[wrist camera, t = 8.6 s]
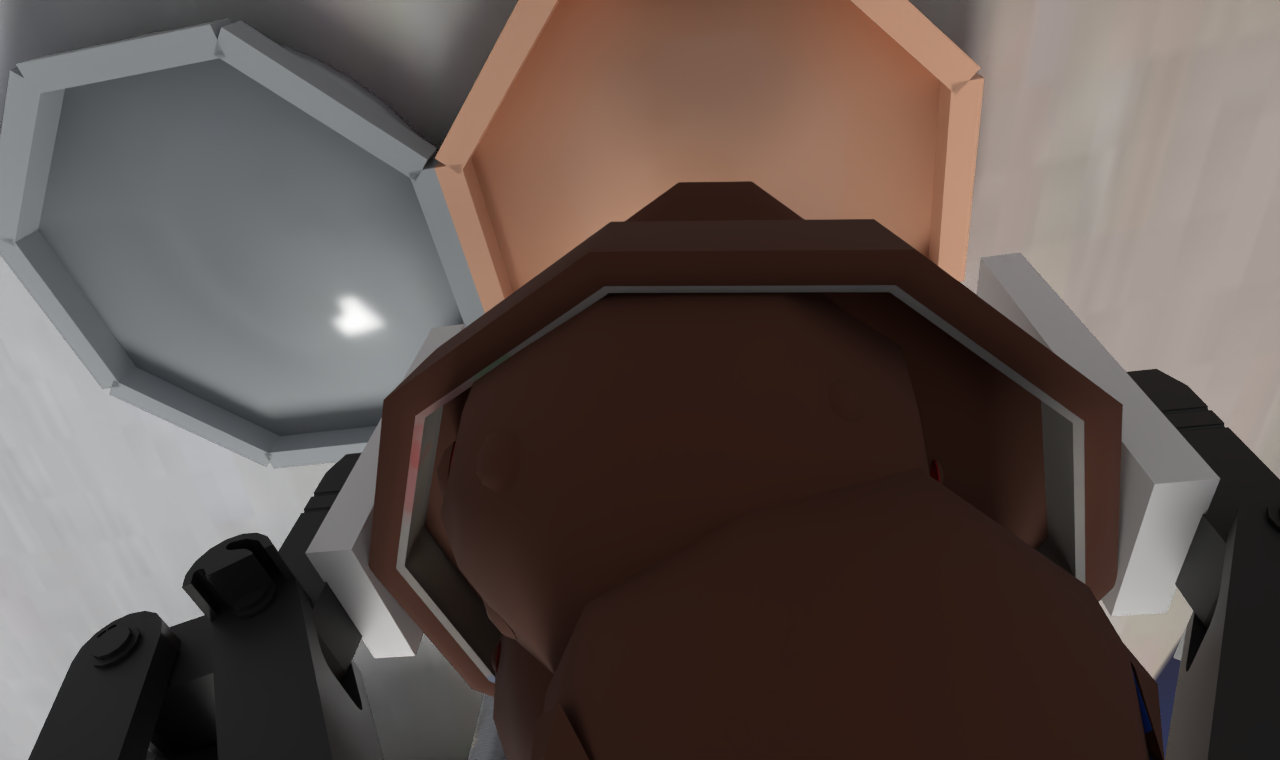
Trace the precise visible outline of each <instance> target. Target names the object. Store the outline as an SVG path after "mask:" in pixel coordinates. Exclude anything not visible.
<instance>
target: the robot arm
mask: <svg viewBox="0 0 1280 760" xmlns="http://www.w3.org/2000/svg"><path fill="white" fill-rule="evenodd" d="M977 296H979V297H980V298H981V299H983V300H984V301H985V302H987V303H988V304H989V305H991V306H992V307H993V308H995V309H996V310H997V311H999V312H1000V313H1001V314H1003V315H1004V316H1005V317H1007V318H1008V319H1009V320H1011V321H1012V322H1013V323H1015V324H1016V325H1017V326H1019V327H1020V328H1021V329H1023V330H1024V331H1025V332H1027V333H1028V334H1029V335H1031V336H1032V337H1033V338H1035V339H1036V340H1037V341H1039V342H1040V343H1041V344H1043V345H1044V346H1045V347H1047V348H1048V349H1049V350H1051V351H1052V352H1053V353H1055V354H1056V355H1057V356H1059V357H1060V358H1061V359H1063V360H1064V361H1065V362H1067V363H1068V364H1069V365H1071V366H1072V367H1073V368H1075V369H1076V370H1077V371H1079V372H1080V373H1081V374H1083V375H1084V376H1085V377H1087V378H1088V379H1089V380H1091V381H1092V382H1093V383H1095V384H1096V385H1097V386H1099V387H1100V388H1101V389H1103V390H1104V391H1105V392H1107V393H1108V394H1109V395H1111V396H1112V397H1113V398H1115V399H1116V400H1117V401H1119V402H1120V403H1121V404H1123V412H1122V444H1121V475H1120V507H1119V539H1118V571H1117V578H1116V582H1115V586H1114V587H1113V589H1112V590H1111V591H1109V592H1108V593H1107V594H1106V595H1105V596H1104V597H1103V598H1102V601H1103V603H1104V605H1105V606H1106V608H1107V610H1108V612H1109V613H1110V615H1111V616H1124V615H1142V614H1160V613H1167V611H1168V608H1169V606H1170V603H1171V601H1172V598H1173V596H1174V593H1175V591H1176V588H1177V587H1178V589H1179V590H1180V592H1181V593H1182V595H1183V596H1184V598H1185V599H1186V600H1187V602H1188V603H1189V605H1190V606H1191V608H1192V609H1193V613H1192V616H1191V618H1190V620H1189V622H1188V625H1187V627H1186V629H1185V632H1184V634H1183V636H1182V639H1181V641H1180V643H1179V646H1178V648H1177V650H1176V652H1175V655H1174V658H1175V659H1178V660H1181V665H1180V670H1179V676H1178V683H1177V688H1176V694H1175V700H1174V707H1173V712H1172V719H1171V725H1170V731H1169V737H1168V743H1167V749H1166V755H1165V760H1280V479H1279V478H1278V477H1277V476H1276V475H1275V474H1274V473H1273V472H1272V471H1271V470H1270V469H1269V468H1268V467H1267V466H1266V465H1265V464H1264V463H1263V462H1262V461H1261V460H1260V459H1259V458H1258V457H1257V456H1256V455H1255V454H1254V453H1253V452H1252V451H1251V450H1250V449H1249V448H1248V447H1247V446H1246V445H1245V444H1244V443H1243V442H1242V441H1241V440H1240V439H1239V438H1238V437H1237V436H1236V435H1235V434H1234V433H1233V432H1232V431H1231V430H1230V428H1229V427H1228V428H1225V427H1224V422H1223V421H1222V420H1221V419H1220V418H1219V417H1218V416H1217V415H1216V414H1215V413H1214V412H1213V411H1212V410H1209V411H1208V408H1207V407H1208V406H1207V405H1206V404H1205V403H1204V402H1203V401H1202V400H1201V399H1200V398H1199V397H1198V396H1197V395H1196V394H1195V393H1194V392H1193V391H1192V390H1191V389H1190V388H1189V387H1188V386H1187V385H1185V384H1184V383H1182V382H1180V381H1178V380H1176V379H1174V378H1172V377H1170V376H1169V375H1167V374H1165V373H1163V372H1161V371H1159V370H1157V369H1151V370H1142V371H1132V372H1126V371H1125V370H1124V369H1123V368H1122V367H1121V366H1120V365H1119V364H1118V362H1117V361H1116V360H1115V359H1114V358H1113V357H1112V356H1111V354H1110V353H1109V352H1108V351H1107V350H1106V349H1105V348H1104V347H1103V345H1102V344H1101V343H1100V342H1099V341H1098V340H1097V339H1096V337H1095V336H1094V335H1093V334H1092V333H1091V332H1090V331H1089V330H1088V328H1087V327H1086V326H1085V325H1084V324H1083V323H1082V322H1081V321H1080V319H1079V318H1078V317H1077V316H1076V315H1075V314H1074V313H1073V311H1072V310H1071V309H1070V308H1069V307H1068V306H1067V305H1066V304H1065V302H1064V301H1063V300H1062V299H1061V298H1060V297H1059V296H1058V294H1057V293H1056V292H1055V291H1054V290H1053V289H1052V288H1051V287H1050V285H1049V284H1048V283H1047V282H1046V281H1045V280H1044V279H1043V278H1042V276H1041V275H1040V274H1039V273H1038V272H1037V271H1036V270H1035V268H1034V267H1033V266H1032V265H1031V264H1030V263H1029V262H1028V261H1027V259H1026V258H1025V257H1024V256H1023V255H1022V254H1021V253H1013V254H1005V255H998V256H990V257H982V258H981V261H980V270H979V279H978V288H977ZM464 328H465V326H464V324H460V325H452V326H444V327H436V328H432V329H431V331H430V333H429V335H428V336H427V338H426V340H425V342H424V343H423V345H422V347H421V349H420V351H419V352H418V354H417V356H416V358H415V359H414V361H413V363H412V365H411V367H410V368H409V370H408V372H407V374H406V375H405V377H404V379H403V380H405V379H406V378H407V377H408V376H409V375H410V374H411V373H412V372H413V371H414V370H415V369H416V368H417V367H418V366H419V365H420V364H421V363H422V362H423V361H424V360H425V359H426V358H427V357H428V356H429V355H430V354H432V353H433V352H434V351H435V350H436V349H437V348H438V347H440V346H441V345H442V344H444V343H445V342H446V341H448V340H449V339H451V338H452V337H453V336H455V335H456V334H457V333H459V332H460V331H461V330H463V329H464ZM381 422H382V418H381V420H380V421H379V423H378V425H377V427H376V429H375V430H374V432H373V434H372V436H371V437H370V439H369V441H368V443H367V445H366V446H365V448H364V450H363V452H362V453H352V454H346V455H345V456H344V457H343V458H342V459H340V460H339V461H338V462H337V463H336V464H335V465H334V466H333V467H332V468H331V469H330V470H329V471H327V472H326V474H325V475H324V477H323V479H322V480H321V482H320V484H319V485H318V487H317V489H316V490H315V492H314V497H311V498H310V500H309V502H308V503H307V505H306V507H305V508H304V513H301V515H300V517H299V518H298V520H297V522H296V523H295V525H294V527H293V528H292V530H291V531H290V533H289V535H288V536H287V538H286V540H285V541H284V543H283V545H282V546H281V548H280V550H279V551H277V550H276V548H275V547H274V545H273V544H272V542H271V541H270V539H269V538H268V537H267V536H265V535H262V534H259V533H249V534H241V535H238V536H235V537H232V538H230V539H227V540H225V541H223V542H221V543H220V544H218V545H216V546H214V547H213V548H211V549H209V550H208V551H207V552H206V553H205V554H204V555H202V556H201V557H200V558H199V559H198V560H197V561H196V562H195V563H194V564H193V566H192V567H191V568H190V570H189V571H188V572H187V574H186V575H185V579H184V583H183V586H182V588H183V589H184V590H185V591H186V593H187V594H188V595H189V596H190V597H191V599H192V600H193V601H194V602H195V603H196V605H197V606H198V607H199V608H200V609H201V610H202V612H203V613H204V614H205V616H202V617H199V618H196V619H193V620H190V621H187V622H184V623H181V624H178V625H175V626H172V627H168V625H167V624H166V623H165V622H164V621H163V620H162V619H161V618H160V617H159V616H158V614H157V613H153V612H148V611H142V612H137V613H132V614H129V615H126V616H124V617H122V618H120V619H118V620H115V621H113V622H112V623H110V624H109V625H107V626H106V627H104V628H102V629H101V630H100V631H99V632H97V633H96V634H95V635H94V636H93V637H92V638H91V639H90V640H89V641H88V642H87V643H86V644H85V645H84V646H82V647H81V649H80V651H79V652H78V654H77V655H76V657H75V658H74V660H73V661H72V663H71V665H70V668H69V670H68V672H67V674H66V677H65V679H64V681H63V683H62V686H61V688H60V690H59V692H58V694H57V697H56V699H55V701H54V703H53V706H52V708H51V710H50V712H49V715H48V717H47V719H46V721H45V723H44V726H43V728H42V730H41V732H40V735H39V737H38V739H37V741H36V744H35V746H34V748H33V750H32V752H31V755H30V757H29V759H28V760H384V757H383V754H382V750H381V746H380V743H379V739H378V735H377V731H376V728H375V724H374V720H373V716H372V713H371V709H370V705H369V701H368V698H367V694H366V690H365V687H364V683H363V679H362V675H361V672H360V670H359V669H358V667H357V665H356V664H355V662H354V661H353V657H354V654H355V652H356V650H357V647H358V645H359V643H360V640H361V639H362V640H363V642H364V643H365V645H366V646H367V648H368V649H369V651H370V652H371V654H372V655H373V657H374V658H389V657H406V656H416V653H417V650H418V647H419V644H420V641H421V639H422V636H423V633H424V632H423V631H422V630H421V629H420V628H419V627H418V625H417V624H416V623H415V622H414V621H413V620H412V618H411V617H410V616H409V615H408V614H407V613H406V611H405V610H404V609H403V608H402V607H401V606H400V604H399V603H398V602H397V601H396V600H395V599H394V597H393V596H392V595H391V594H390V593H389V592H388V590H387V589H386V588H385V587H384V586H383V585H382V583H381V582H380V581H379V580H378V579H377V578H376V577H375V575H374V574H373V572H372V571H371V569H370V567H369V565H368V564H369V553H370V542H371V531H372V520H373V509H374V498H375V488H376V477H377V466H378V455H379V444H380V433H381Z"/></svg>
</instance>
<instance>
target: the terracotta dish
mask: <svg viewBox="0 0 1280 760" xmlns="http://www.w3.org/2000/svg"><path fill="white" fill-rule="evenodd" d="M979 69H980V67H979V66H978V65H977V64H976V63H975V62H974V61H973V60H972V59H971V58H970V57H969V56H967V55H966V54H965V53H964V52H963V51H962V50H961V49H960V48H959V47H958V46H957V45H956V44H955V43H953V42H952V41H951V40H950V39H949V38H948V37H947V36H946V35H945V34H944V33H943V32H942V31H940V30H939V29H938V28H937V27H936V26H935V25H934V24H933V23H932V22H931V21H930V20H929V19H928V18H926V17H925V16H924V15H923V14H922V13H921V12H920V11H919V10H918V9H917V8H916V7H915V6H913V5H912V4H911V3H910V2H909V1H908V0H518V2H517V4H516V6H515V8H514V10H513V11H512V13H511V15H510V17H509V19H508V21H507V23H506V25H505V27H504V28H503V30H502V32H501V34H500V36H499V38H498V40H497V42H496V44H495V45H494V47H493V49H492V51H491V53H490V55H489V57H488V59H487V61H486V62H485V64H484V66H483V68H482V70H481V72H480V74H479V76H478V78H477V79H476V81H475V83H474V85H473V87H472V89H471V91H470V93H469V95H468V96H467V98H466V100H465V102H464V104H463V106H462V108H461V110H460V112H459V113H458V115H457V117H456V119H455V121H454V123H453V125H452V127H451V129H450V130H449V132H448V134H447V136H446V138H445V140H444V142H443V144H442V146H441V147H440V149H439V151H438V153H437V155H436V157H435V159H437V160H438V161H440V162H439V163H438V164H437V165H436V167H435V168H434V169H435V172H436V175H437V177H438V180H439V183H440V186H441V189H442V192H443V195H444V198H445V200H446V203H447V206H448V209H449V212H450V215H451V218H452V221H453V223H454V226H455V229H456V232H457V235H458V238H459V241H460V244H461V246H462V249H463V252H464V255H465V258H466V261H467V264H468V267H469V269H470V272H471V275H472V278H473V281H474V284H475V287H476V290H477V292H478V295H479V298H480V301H481V304H482V307H483V310H484V313H486V312H488V311H489V310H490V309H492V308H493V307H494V306H496V305H497V304H498V303H500V302H501V301H503V300H504V299H505V298H507V297H508V296H509V295H511V294H512V293H514V292H515V291H516V290H518V289H519V288H520V287H522V286H523V285H525V284H526V283H527V282H529V281H530V280H531V279H533V278H534V277H535V276H537V275H538V274H540V273H541V272H542V271H544V270H545V269H546V268H548V267H549V266H551V265H552V264H553V263H555V262H556V261H557V260H559V259H560V258H562V257H563V256H564V255H566V254H567V253H568V252H570V251H571V250H572V249H574V248H575V247H577V246H578V245H579V244H581V243H582V242H583V241H585V240H586V239H588V238H589V237H590V236H592V235H593V234H594V233H596V232H597V231H599V230H600V229H601V228H603V227H604V226H605V225H607V224H608V223H609V222H624V221H626V220H627V219H629V218H630V217H631V216H633V215H634V214H635V213H637V212H638V211H640V210H641V209H642V208H644V207H645V206H647V205H648V204H649V203H651V202H652V201H653V200H655V199H656V198H658V197H659V196H660V195H662V194H663V193H665V192H666V191H667V190H669V189H670V188H671V187H673V186H674V185H676V184H677V183H678V182H740V181H752V182H753V183H755V184H756V185H757V186H759V187H760V188H762V189H763V190H764V191H766V192H767V193H769V194H770V195H771V196H773V197H774V198H775V199H777V200H778V201H780V202H781V203H782V204H784V205H785V206H787V207H788V208H789V209H791V210H792V211H794V212H795V213H796V214H798V215H799V216H800V217H802V218H803V219H805V220H830V219H875V220H876V221H877V222H879V223H880V224H881V225H883V226H884V227H886V228H887V229H888V230H890V231H891V232H893V233H894V234H895V235H897V236H898V237H899V238H901V239H902V240H904V241H905V242H906V243H908V244H909V245H911V246H912V247H913V248H915V249H916V250H917V251H919V252H920V253H921V254H923V255H924V256H925V257H927V258H928V259H929V260H931V261H932V262H933V263H935V264H936V265H937V266H939V267H940V268H941V269H943V270H944V271H945V272H947V273H948V274H949V275H951V276H952V277H953V278H955V279H956V280H957V281H959V282H962V281H964V278H965V268H966V258H967V248H968V238H969V228H970V218H971V207H972V197H973V187H974V177H975V167H976V157H977V147H978V137H979V127H980V117H981V107H982V96H983V86H984V78H983V77H982V76H981V75H979V74H978V73H976V72H977V71H978V70H979Z"/></svg>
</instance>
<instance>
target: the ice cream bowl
mask: <svg viewBox="0 0 1280 760" xmlns="http://www.w3.org/2000/svg"><path fill="white" fill-rule="evenodd" d="M1122 412H1123V404H1121V403H1120V402H1119V401H1117V400H1116V399H1115V398H1113V397H1112V396H1111V395H1109V394H1108V393H1107V392H1105V391H1104V390H1103V389H1101V388H1100V387H1099V386H1097V385H1096V384H1095V383H1093V382H1092V381H1091V380H1089V379H1088V378H1087V377H1085V376H1084V375H1083V374H1081V373H1080V372H1079V371H1077V370H1076V369H1075V368H1073V367H1072V366H1071V365H1069V364H1068V363H1067V362H1065V361H1064V360H1063V359H1061V358H1060V357H1059V356H1057V355H1056V354H1055V353H1053V352H1052V351H1051V350H1049V349H1048V348H1047V347H1045V346H1044V345H1043V344H1041V343H1040V342H1039V341H1037V340H1036V339H1035V338H1033V337H1032V336H1031V335H1029V334H1028V333H1027V332H1025V331H1024V330H1023V329H1021V328H1020V327H1019V326H1017V325H1016V324H1015V323H1013V322H1012V321H1011V320H1009V319H1008V318H1007V317H1005V316H1004V315H1003V314H1001V313H1000V312H999V311H997V310H996V309H995V308H993V307H992V306H991V305H989V304H988V303H987V302H985V301H984V300H983V299H981V298H980V297H979V296H977V295H976V294H975V293H973V292H972V291H971V290H969V289H968V288H967V287H965V286H964V285H963V284H961V283H960V282H959V281H957V280H956V279H955V278H953V277H952V276H951V275H949V274H948V273H947V272H945V271H944V270H943V269H941V268H940V267H939V266H937V265H936V264H935V263H933V262H932V261H931V260H929V259H928V258H927V257H925V256H924V255H923V254H921V253H920V252H919V251H917V250H916V249H915V248H913V247H912V246H911V245H909V244H908V243H906V242H905V241H904V240H902V239H901V238H899V237H898V236H897V235H895V234H894V233H893V232H891V231H890V230H888V229H887V228H886V227H884V226H883V225H881V224H880V223H879V222H877V221H876V220H875V219H830V220H805V219H803V218H802V217H800V216H799V215H798V214H796V213H795V212H794V211H792V210H791V209H789V208H788V207H787V206H785V205H784V204H782V203H781V202H780V201H778V200H777V199H775V198H774V197H773V196H771V195H770V194H769V193H767V192H766V191H764V190H763V189H762V188H760V187H759V186H757V185H756V184H755V183H753V182H752V181H740V182H678V183H677V184H676V185H674V186H673V187H671V188H670V189H669V190H667V191H666V192H665V193H663V194H662V195H660V196H659V197H658V198H656V199H655V200H653V201H652V202H651V203H649V204H648V205H647V206H645V207H644V208H642V209H641V210H640V211H638V212H637V213H635V214H634V215H633V216H631V217H630V218H629V219H627V220H626V221H624V222H609V223H608V224H607V225H605V226H604V227H603V228H601V229H600V230H599V231H597V232H596V233H594V234H593V235H592V236H590V237H589V238H588V239H586V240H585V241H583V242H582V243H581V244H579V245H578V246H577V247H575V248H574V249H572V250H571V251H570V252H568V253H567V254H566V255H564V256H563V257H562V258H560V259H559V260H557V261H556V262H555V263H553V264H552V265H551V266H549V267H548V268H546V269H545V270H544V271H542V272H541V273H540V274H538V275H537V276H535V277H534V278H533V279H531V280H530V281H529V282H527V283H526V284H525V285H523V286H522V287H520V288H519V289H518V290H516V291H515V292H514V293H512V294H511V295H509V296H508V297H507V298H505V299H504V300H503V301H501V302H500V303H498V304H497V305H496V306H494V307H493V308H492V309H490V310H489V311H488V312H486V313H485V314H483V315H482V316H481V317H479V318H478V319H477V320H475V321H474V322H472V323H471V324H470V325H468V326H467V327H466V328H464V329H463V330H461V331H460V332H459V333H457V334H456V335H455V336H453V337H452V338H451V339H449V340H448V341H446V342H445V343H444V344H442V345H441V346H440V347H438V348H437V349H436V350H435V351H434V352H433V353H432V354H430V355H429V356H428V357H427V358H426V359H425V360H424V361H423V362H422V363H421V364H420V365H419V366H418V367H417V368H416V369H415V370H414V371H413V372H412V373H411V374H410V375H409V376H408V377H407V378H406V379H405V380H403V381H402V382H401V383H400V384H399V385H398V386H397V387H396V388H395V389H394V390H393V391H392V392H391V393H390V394H389V395H388V396H387V397H386V398H385V399H384V400H383V411H382V422H381V433H380V444H379V455H378V466H377V477H376V488H375V498H374V509H373V520H372V531H371V542H370V553H369V564H368V565H369V567H370V569H371V571H372V572H373V574H374V575H375V577H376V578H377V579H378V580H379V581H380V582H381V583H382V585H383V586H384V587H385V588H386V589H387V590H388V592H389V593H390V594H391V595H392V596H393V597H394V599H395V600H396V601H397V602H398V603H399V604H400V606H401V607H402V608H403V609H404V610H405V611H406V613H407V614H408V615H409V616H410V617H411V618H412V620H413V621H414V622H415V623H416V624H417V625H418V627H419V628H420V629H421V630H422V631H423V632H424V633H425V635H426V636H427V637H428V638H429V639H430V640H431V642H432V643H433V644H434V645H435V646H436V647H437V649H438V650H439V651H440V652H441V653H442V654H443V656H444V657H445V658H446V659H447V660H448V661H449V663H450V664H451V665H452V666H453V667H454V668H455V670H456V671H457V672H458V673H459V674H460V675H461V677H462V678H463V679H464V680H465V681H466V682H467V683H468V685H469V686H470V687H471V688H472V689H474V690H477V691H479V692H482V693H484V694H487V695H489V696H492V697H494V709H493V720H494V723H495V726H496V729H497V732H498V735H499V738H500V741H501V744H502V747H503V750H504V753H505V756H506V759H507V760H1164V752H1163V740H1162V729H1161V719H1160V707H1159V696H1158V684H1157V683H1156V682H1155V680H1154V679H1153V678H1152V677H1151V676H1150V675H1149V673H1148V672H1147V671H1146V670H1145V669H1144V667H1143V666H1142V665H1141V664H1140V663H1139V661H1138V660H1137V659H1136V658H1135V657H1134V655H1133V654H1132V653H1131V652H1130V651H1129V649H1128V648H1127V647H1126V646H1125V645H1124V643H1123V642H1122V641H1121V639H1120V637H1119V636H1118V634H1117V632H1116V631H1115V629H1114V627H1113V626H1112V624H1111V622H1110V621H1109V619H1108V617H1107V616H1106V614H1105V612H1104V611H1103V609H1102V607H1101V606H1100V604H1099V601H1100V600H1101V599H1102V598H1103V597H1104V596H1105V595H1106V594H1107V593H1108V592H1109V591H1111V590H1112V589H1113V587H1114V586H1115V582H1116V578H1117V571H1118V539H1119V507H1120V475H1121V444H1122Z"/></svg>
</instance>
